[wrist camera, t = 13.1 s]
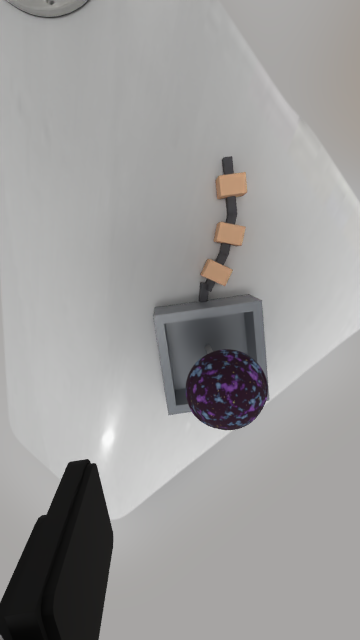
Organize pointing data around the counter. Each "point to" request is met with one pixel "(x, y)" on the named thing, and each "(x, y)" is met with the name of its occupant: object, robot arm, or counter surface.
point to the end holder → (205, 338)
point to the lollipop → (226, 389)
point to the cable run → (225, 228)
